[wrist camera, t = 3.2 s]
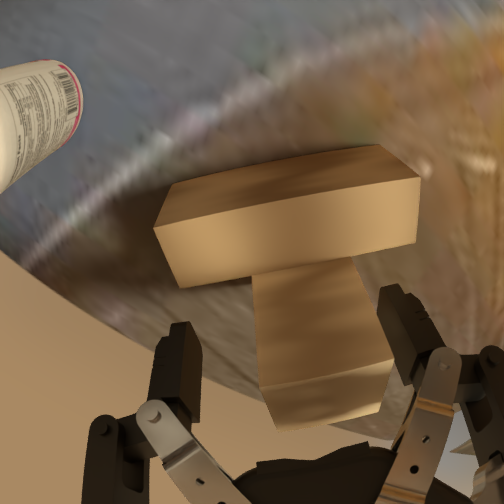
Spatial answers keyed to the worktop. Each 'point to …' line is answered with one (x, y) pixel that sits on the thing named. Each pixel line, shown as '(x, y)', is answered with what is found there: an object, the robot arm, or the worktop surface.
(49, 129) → the pill bottle
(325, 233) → the scraper
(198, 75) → the worktop surface
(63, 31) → the worktop surface
